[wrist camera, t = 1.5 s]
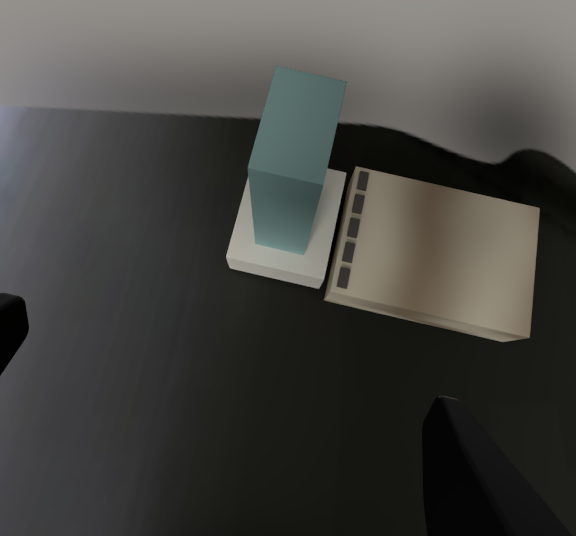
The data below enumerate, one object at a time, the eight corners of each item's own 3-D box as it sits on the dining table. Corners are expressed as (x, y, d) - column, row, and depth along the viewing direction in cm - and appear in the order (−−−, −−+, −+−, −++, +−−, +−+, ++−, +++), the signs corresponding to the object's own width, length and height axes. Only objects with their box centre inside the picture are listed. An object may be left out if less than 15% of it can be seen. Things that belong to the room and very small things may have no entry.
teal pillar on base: (339, 190, 25) (386, 65, 15) (318, 288, 23) (356, 222, 13) (256, 171, 25) (247, 34, 15) (229, 268, 23) (201, 186, 13)
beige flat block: (513, 224, 25) (542, 206, 22) (502, 341, 23) (532, 337, 21) (347, 186, 25) (356, 164, 23) (323, 300, 23) (330, 290, 21)
